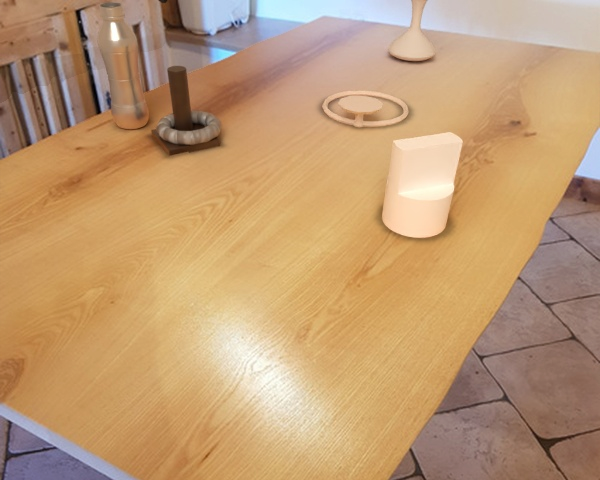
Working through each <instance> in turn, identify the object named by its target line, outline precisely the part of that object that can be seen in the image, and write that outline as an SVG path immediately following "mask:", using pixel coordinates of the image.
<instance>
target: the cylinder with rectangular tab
mask: <svg viewBox="0 0 600 480" xmlns="http://www.w3.org/2000/svg"><path fill="white" fill-rule="evenodd" d="M463 143H464V141H463V139H462V138H461V137H460V136H459V135H457V134H456V133H453V132H451V131H449V132H448V131H447V132H442V133H434V134H429V135H422V136H414V137H408V138H402V139H394V140H392V146H391V153H390V159H389V160H390V161H389V168H388V175H387V178H386V184H385V190H384V197H383V206H382V214H381V220H382V221H381V222H383V224H384V226H385V227H387V228H388V229H389V230H390V231H392V232H394V233H395V234H398V235H402V236H403V237H410V238H420V239H424V238H431V237H434V236H436V235H439V234H441V233H442V232H443V231H444V230H445V229H446V226H447V222H448V218H449V214H450V210H451V204H452V200H453V196H454V192H455V178H456V174H457V170H458V165H459V161H460V157H461V152H462V147H463Z"/></svg>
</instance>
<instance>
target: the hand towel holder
mask: <svg viewBox="0 0 600 480" xmlns="http://www.w3.org/2000/svg"><path fill="white" fill-rule="evenodd" d="M378 98H381V99H384V100H388V101H390V102H393V103H395V104H397V105H398V106H400V107H401V108H402V114H401V115H399V116H396V117H394V118H390V119H384V120H383V119H382V120H364V116H365V115H372V114H375V113H378V112H380V111H381V110H382V109H383V106H384V103H383V102H382V101H380V100H379V99H378ZM337 99H339V101H338V103H337V104H338V106H339V107H340V108H341V109H342V110H344V111H345V112H347V113H350V114H354V118H349V117H345V116H342V115H339V114H337V113H335V112H333V111H331V109H329V104H330V103H331V102H333V101H335V100H337ZM321 107H322V110H323V112H324V114H326V115H327V116H328V117H329V118H330V119H332V120H334V121H337V122H339V123H342V124H346V125H351V126H354V127H355V128H363V127H365V128H374V127H375V128H376V127H378V128H379V127H385V126H386V127H387V126H392V125H395V124H398V123H400V122H402V121H403V120H405V119H406V118H407V117H408V116H409V107H408V105H407V104H406V102H405V101H404V100H402V99H400V98H399V97H397V96H394V95H392V94H389V93H385V92H380V91H375V90H363V89H358V90H357V89H356V90H344V91H340V92H335V93H333V94H331V95H329V96H327V98H325V100H323V103H322V106H321Z"/></svg>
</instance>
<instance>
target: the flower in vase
mask: <svg viewBox="0 0 600 480" xmlns="http://www.w3.org/2000/svg"><path fill="white" fill-rule="evenodd" d="M410 1H411V9H412V10H411V19H410V24H409V28H408V29H407V30H406V31H405V32H404V33H403V34H401V35H400V36H398V37H397V38H395V40H393V41H392V42H391V44H389V46H388V49H387V50H388V53H389V54H390V55H391V56H393V57H395V58H397V59H399V60H403V61H410V62H420V61H426V60H429V59H431V58H433V57H434V56H435V55H436V48H435V46H434V45H433V43H432V41H430V39H428V37H427V36H426V35H425V34H424V33H423V31H422V28H421V27H422V26H421V24H422V17H423V12H424V9H425V6H426V4H427V2H428V0H410Z"/></svg>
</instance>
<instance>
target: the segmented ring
mask: <svg viewBox="0 0 600 480" xmlns="http://www.w3.org/2000/svg"><path fill="white" fill-rule="evenodd" d="M191 115H192V124H202V125H205V126H206V127H205V128H203V129H199V130H193V131H178V130H175V129H171V128H173V127H175V124H174V117H173V112H171V113H168V114H167V115H165V116H163V117H161V119H159V120H158V123H157V125H156V127H155V129H156V130H157V133H158V134H159V135H160V136H161V137H162V139H163V140H165V141H168V142H171V143H174V144H180V145H194V144H199V143H204V142H208V141H210V140H212V139H213V138H215V137H217V138H218V136H219V135H220V134H221V130H222V125H223V124H222V122H221V120H220V119H219V118H218V117H217V116H216V115H214V114H213V113H209V112H207V111H202V110H191Z"/></svg>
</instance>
